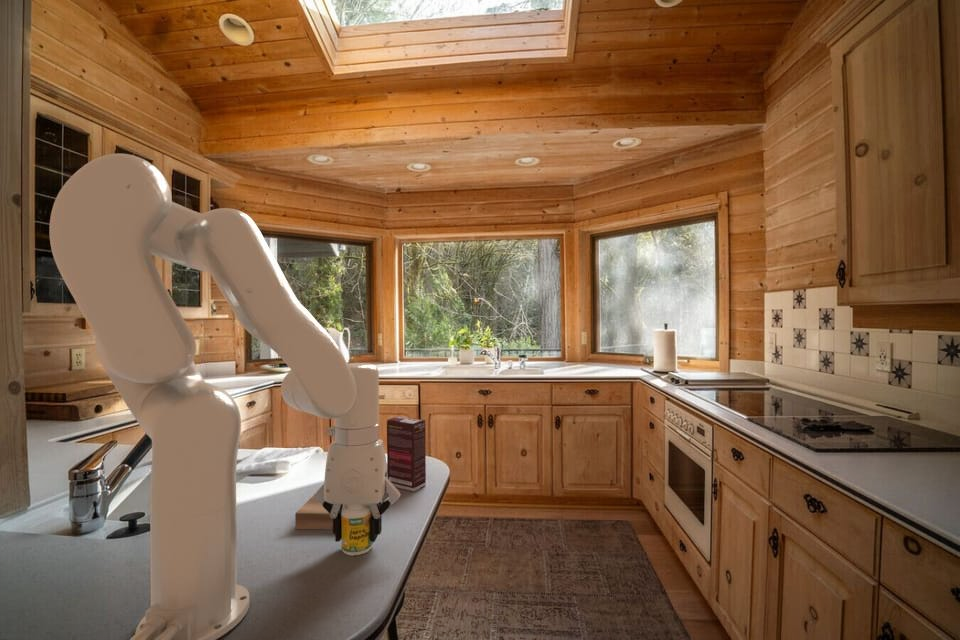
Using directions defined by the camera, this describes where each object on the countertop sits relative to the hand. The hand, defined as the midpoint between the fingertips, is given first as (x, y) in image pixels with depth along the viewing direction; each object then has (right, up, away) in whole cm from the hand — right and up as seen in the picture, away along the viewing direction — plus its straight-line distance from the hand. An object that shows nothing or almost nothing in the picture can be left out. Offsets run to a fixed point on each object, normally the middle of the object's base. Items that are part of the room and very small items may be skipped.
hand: (357, 536), depth 74 cm
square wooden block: (-8, -2, +12) cm, 15 cm away
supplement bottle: (0, -2, 0) cm, 2 cm away
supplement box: (+4, -2, +28) cm, 28 cm away
